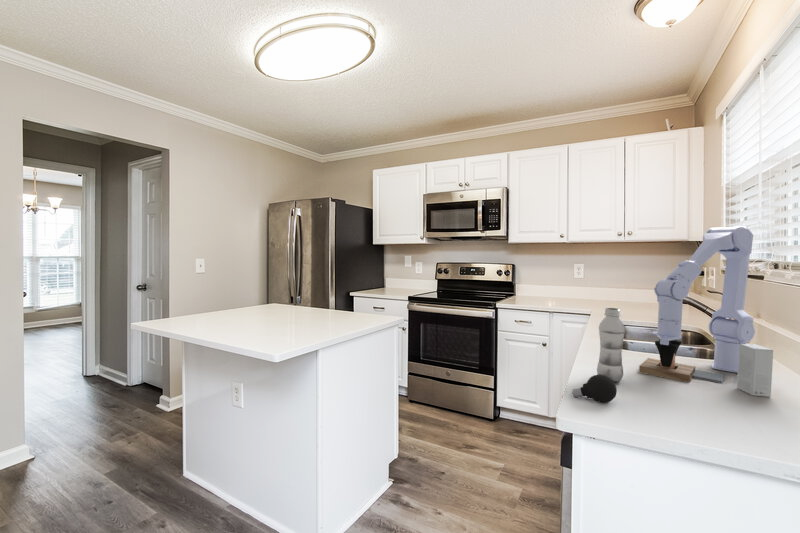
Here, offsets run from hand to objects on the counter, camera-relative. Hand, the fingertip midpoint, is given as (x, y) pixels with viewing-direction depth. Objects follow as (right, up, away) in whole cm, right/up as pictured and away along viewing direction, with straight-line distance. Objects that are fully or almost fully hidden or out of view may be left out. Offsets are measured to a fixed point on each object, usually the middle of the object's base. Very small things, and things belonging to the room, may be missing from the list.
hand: (667, 364), depth 114 cm
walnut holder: (0, -2, 0) cm, 2 cm away
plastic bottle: (-22, -2, -8) cm, 23 cm away
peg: (0, -2, 0) cm, 2 cm away
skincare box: (+12, -3, -15) cm, 19 cm away
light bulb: (-33, -3, -23) cm, 41 cm away
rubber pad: (+9, -3, -3) cm, 10 cm away
